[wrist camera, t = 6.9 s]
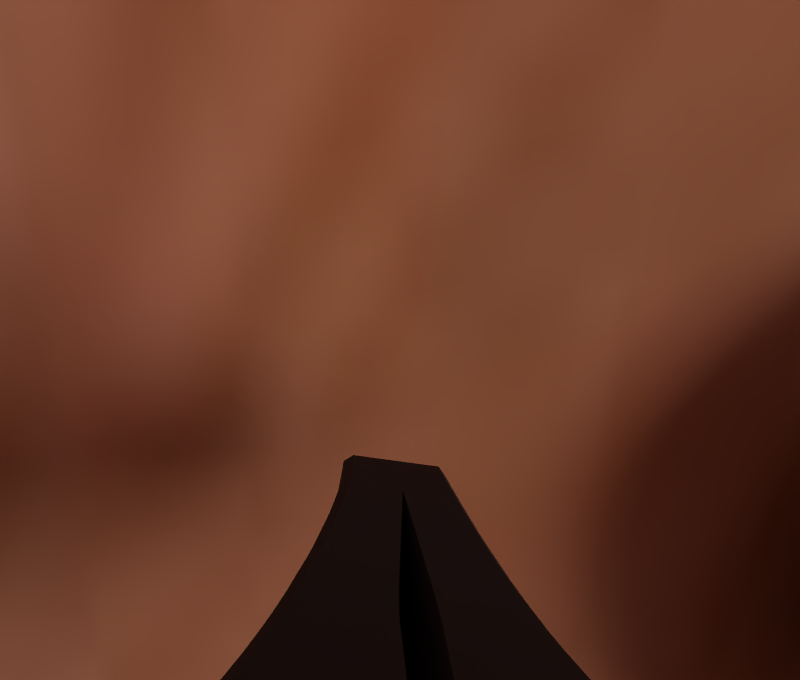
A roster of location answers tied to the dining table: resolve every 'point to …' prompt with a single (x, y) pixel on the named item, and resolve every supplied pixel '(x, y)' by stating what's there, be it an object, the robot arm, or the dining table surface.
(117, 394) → the dining table surface
